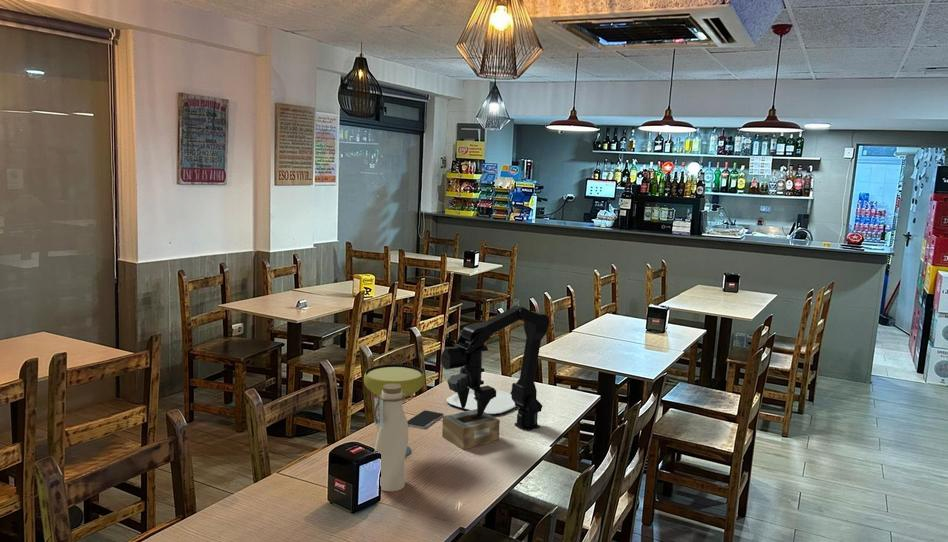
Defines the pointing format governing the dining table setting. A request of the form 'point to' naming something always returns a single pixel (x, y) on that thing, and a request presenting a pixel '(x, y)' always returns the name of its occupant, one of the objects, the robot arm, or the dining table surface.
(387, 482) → the water bottle
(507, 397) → the plate
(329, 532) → the dining table surface
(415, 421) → the smartphone
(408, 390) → the cocktail glass
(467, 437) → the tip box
